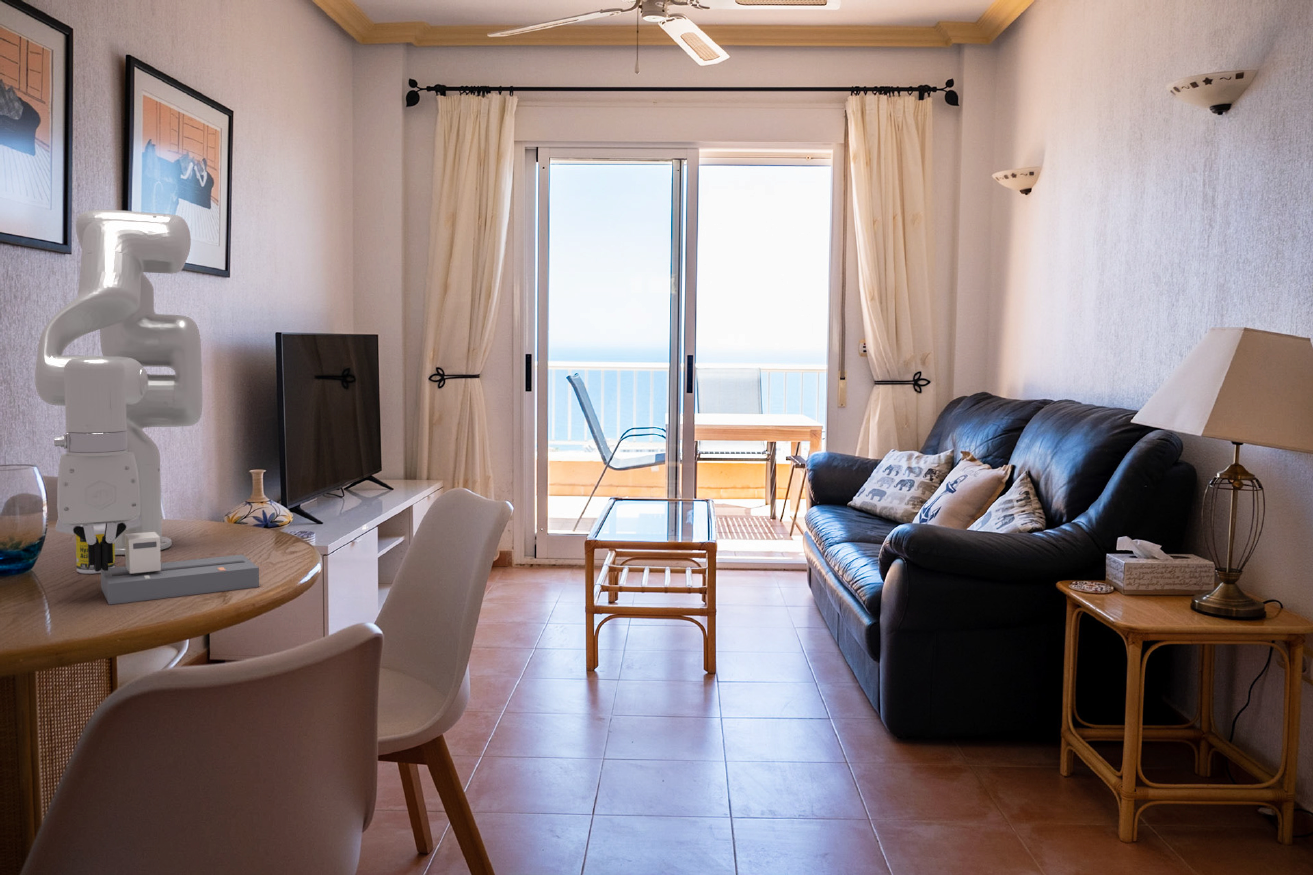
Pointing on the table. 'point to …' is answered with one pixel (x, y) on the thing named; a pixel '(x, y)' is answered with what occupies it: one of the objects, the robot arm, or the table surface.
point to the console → (180, 579)
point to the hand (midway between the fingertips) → (101, 569)
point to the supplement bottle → (83, 551)
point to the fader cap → (142, 552)
